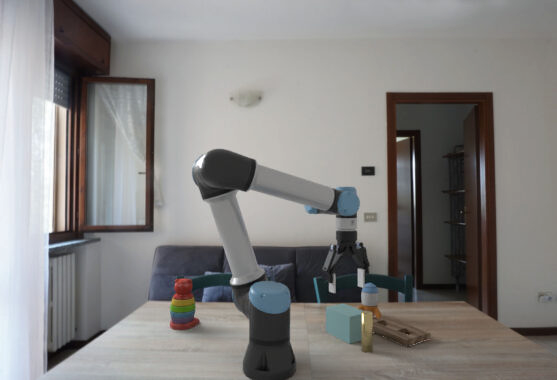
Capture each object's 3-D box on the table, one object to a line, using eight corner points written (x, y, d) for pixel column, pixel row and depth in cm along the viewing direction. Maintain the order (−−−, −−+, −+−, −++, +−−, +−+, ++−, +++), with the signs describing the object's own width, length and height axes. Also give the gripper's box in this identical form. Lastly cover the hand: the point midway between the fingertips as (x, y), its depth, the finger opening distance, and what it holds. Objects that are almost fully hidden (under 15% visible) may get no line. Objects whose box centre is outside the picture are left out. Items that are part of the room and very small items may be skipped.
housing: (349, 343, 119) (349, 316, 120) (325, 331, 130) (325, 306, 130) (368, 338, 124) (368, 312, 124) (343, 327, 134) (343, 303, 135)
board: (407, 347, 117) (407, 339, 117) (363, 328, 134) (363, 321, 134) (430, 340, 123) (430, 332, 123) (385, 322, 140) (385, 316, 140)
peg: (367, 353, 112) (366, 314, 112) (359, 349, 115) (359, 311, 115) (375, 351, 114) (374, 313, 114) (366, 347, 117) (366, 310, 117)
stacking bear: (201, 321, 140) (201, 276, 141) (192, 330, 130) (192, 281, 131) (174, 320, 142) (175, 275, 142) (163, 329, 131) (164, 281, 132)
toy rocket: (386, 324, 141) (381, 288, 139) (359, 328, 141) (354, 293, 139) (378, 312, 151) (374, 278, 149) (354, 316, 151) (348, 283, 149)
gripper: (325, 232, 118) (326, 297, 118) (379, 228, 131) (379, 287, 131) (312, 230, 125) (312, 292, 124) (364, 227, 138) (365, 282, 137)
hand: (347, 289), depth 127 cm, fingers open, 13 cm apart
